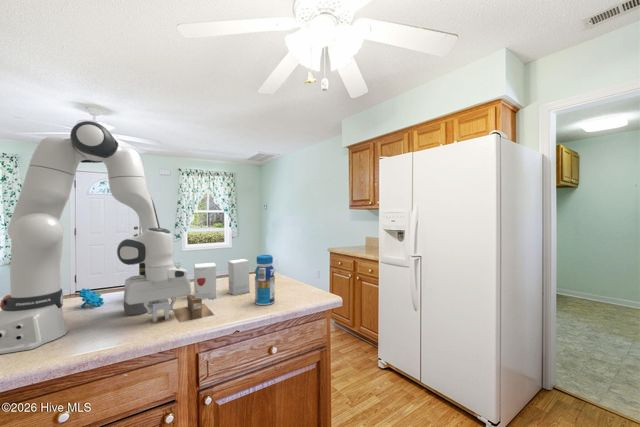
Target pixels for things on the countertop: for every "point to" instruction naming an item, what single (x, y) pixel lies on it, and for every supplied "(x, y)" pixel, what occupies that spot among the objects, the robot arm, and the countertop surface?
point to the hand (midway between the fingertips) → (160, 311)
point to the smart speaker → (135, 306)
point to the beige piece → (188, 311)
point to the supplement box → (205, 281)
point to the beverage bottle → (264, 280)
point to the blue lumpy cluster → (90, 298)
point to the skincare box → (238, 276)
